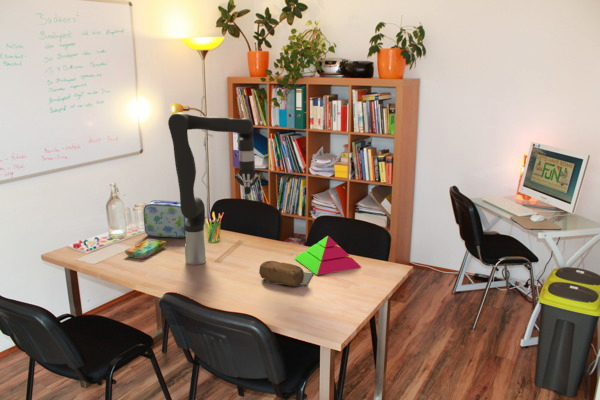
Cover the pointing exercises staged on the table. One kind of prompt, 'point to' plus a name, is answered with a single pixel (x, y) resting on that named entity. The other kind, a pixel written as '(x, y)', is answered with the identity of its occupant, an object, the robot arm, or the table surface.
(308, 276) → the mat
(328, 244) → the pyramid toy
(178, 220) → the lunch box
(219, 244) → the table surface
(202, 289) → the table surface
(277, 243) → the table surface
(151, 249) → the puzzle game
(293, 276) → the brown rounded elongated part
